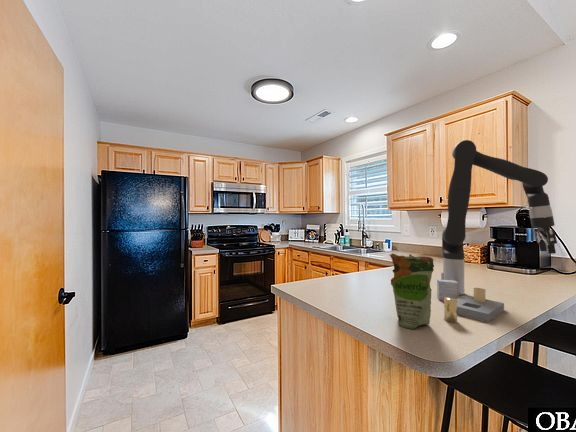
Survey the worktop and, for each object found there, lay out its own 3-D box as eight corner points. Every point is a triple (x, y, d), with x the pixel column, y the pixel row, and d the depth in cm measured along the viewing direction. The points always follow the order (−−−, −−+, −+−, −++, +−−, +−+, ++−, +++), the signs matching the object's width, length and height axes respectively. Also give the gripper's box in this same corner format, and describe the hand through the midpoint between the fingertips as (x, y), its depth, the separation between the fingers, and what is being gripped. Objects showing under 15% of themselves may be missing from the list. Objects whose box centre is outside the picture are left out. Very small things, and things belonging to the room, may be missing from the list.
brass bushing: (442, 320, 98) (442, 298, 98) (446, 317, 100) (446, 296, 101) (454, 323, 95) (454, 301, 95) (458, 320, 97) (458, 299, 97)
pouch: (437, 329, 90) (437, 255, 90) (406, 332, 87) (406, 256, 87) (415, 317, 101) (415, 251, 101) (387, 320, 98) (387, 252, 98)
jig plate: (446, 311, 107) (446, 291, 107) (464, 301, 120) (464, 283, 120) (488, 322, 96) (488, 300, 96) (504, 310, 108) (504, 290, 109)
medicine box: (456, 299, 123) (456, 280, 123) (458, 302, 119) (458, 282, 119) (436, 297, 126) (436, 279, 126) (438, 300, 122) (438, 281, 122)
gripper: (524, 217, 128) (530, 251, 127) (537, 217, 115) (543, 255, 114) (544, 215, 125) (551, 249, 124) (560, 215, 112) (567, 253, 111)
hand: (547, 252), depth 119 cm, fingers open, 8 cm apart
